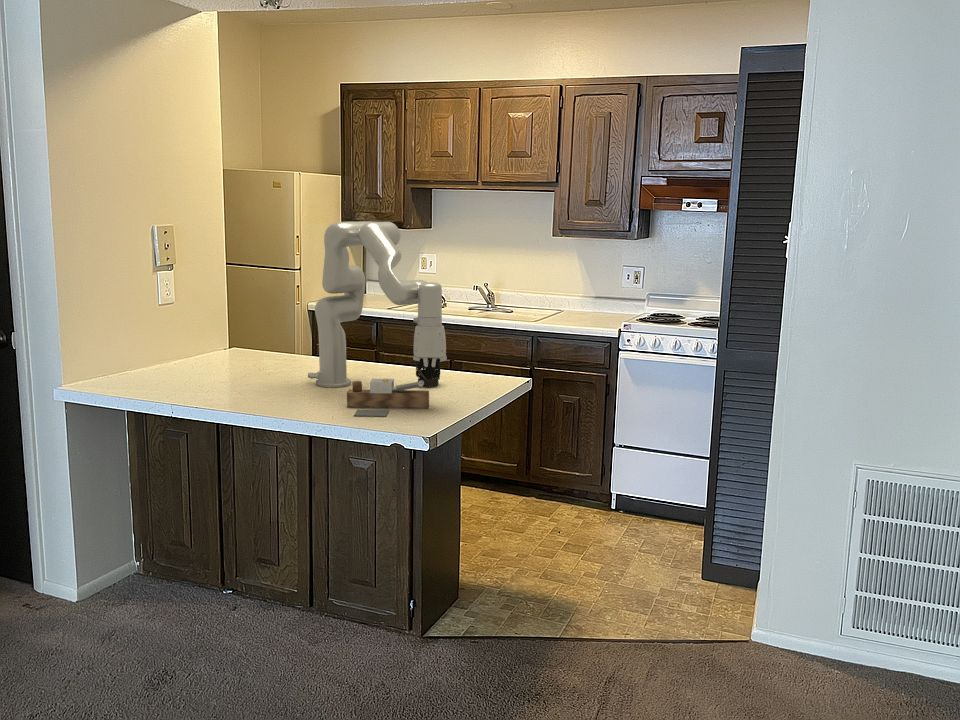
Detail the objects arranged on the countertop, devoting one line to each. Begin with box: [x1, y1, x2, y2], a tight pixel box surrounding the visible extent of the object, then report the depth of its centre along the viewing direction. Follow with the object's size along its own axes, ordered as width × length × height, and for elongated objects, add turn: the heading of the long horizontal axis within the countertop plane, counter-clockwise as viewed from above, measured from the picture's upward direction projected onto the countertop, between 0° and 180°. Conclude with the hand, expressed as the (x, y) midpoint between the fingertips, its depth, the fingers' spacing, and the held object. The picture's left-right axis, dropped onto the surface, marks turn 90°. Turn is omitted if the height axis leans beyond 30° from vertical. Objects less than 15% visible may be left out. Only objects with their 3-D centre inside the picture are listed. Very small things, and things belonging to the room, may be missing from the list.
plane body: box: [346, 380, 430, 410], centre depth 274 cm, size 26×4×8 cm, turn 89°
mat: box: [353, 409, 390, 418], centre depth 266 cm, size 10×7×1 cm
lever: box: [394, 380, 424, 392], centre depth 273 cm, size 2×5×10 cm
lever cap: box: [369, 378, 395, 393], centre depth 274 cm, size 7×5×4 cm
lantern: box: [414, 358, 441, 389], centre depth 303 cm, size 10×9×28 cm
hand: (430, 378), depth 273 cm, fingers closed
